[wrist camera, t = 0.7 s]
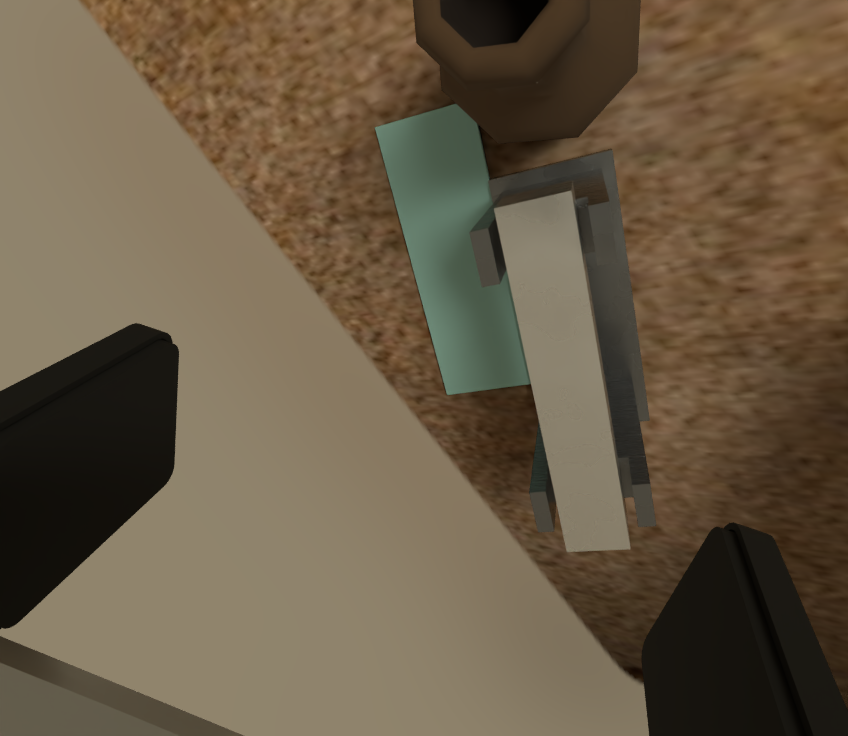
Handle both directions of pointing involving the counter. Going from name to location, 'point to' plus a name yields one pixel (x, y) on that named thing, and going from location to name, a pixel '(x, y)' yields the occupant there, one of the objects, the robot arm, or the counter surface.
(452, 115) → the mat
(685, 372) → the counter surface
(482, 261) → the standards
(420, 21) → the beer bottle
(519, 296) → the rail
